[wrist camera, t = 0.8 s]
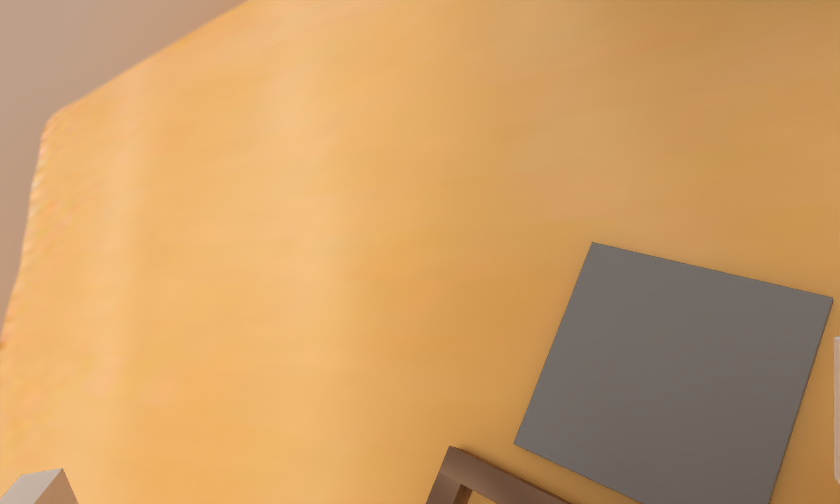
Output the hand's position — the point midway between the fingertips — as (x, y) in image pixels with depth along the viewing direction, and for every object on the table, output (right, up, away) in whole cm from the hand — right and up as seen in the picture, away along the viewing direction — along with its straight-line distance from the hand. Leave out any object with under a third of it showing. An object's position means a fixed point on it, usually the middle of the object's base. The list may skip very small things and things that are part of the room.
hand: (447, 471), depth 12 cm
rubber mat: (+12, -3, +22) cm, 25 cm away
